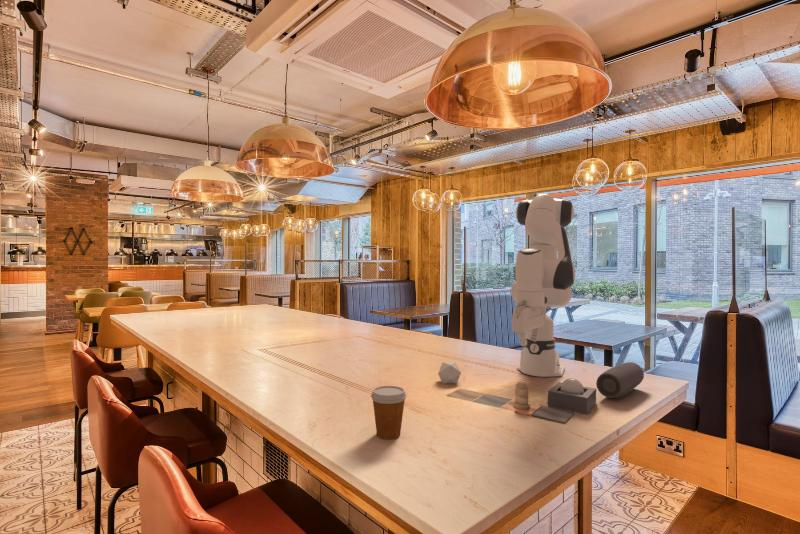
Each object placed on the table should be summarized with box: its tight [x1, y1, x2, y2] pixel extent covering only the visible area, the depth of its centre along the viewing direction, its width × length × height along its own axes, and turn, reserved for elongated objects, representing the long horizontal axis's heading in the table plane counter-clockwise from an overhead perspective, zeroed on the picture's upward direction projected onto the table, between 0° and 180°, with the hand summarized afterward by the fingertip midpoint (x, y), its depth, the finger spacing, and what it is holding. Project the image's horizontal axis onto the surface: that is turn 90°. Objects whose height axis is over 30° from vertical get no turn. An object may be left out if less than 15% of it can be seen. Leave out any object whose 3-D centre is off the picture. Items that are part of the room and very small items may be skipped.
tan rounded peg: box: [513, 380, 531, 409], centre depth 140 cm, size 5×5×8 cm
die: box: [437, 361, 462, 384], centre depth 166 cm, size 8×9×10 cm
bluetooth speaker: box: [596, 361, 645, 399], centre depth 155 cm, size 23×9×10 cm, turn 135°
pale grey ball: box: [560, 377, 584, 395], centre depth 143 cm, size 7×7×7 cm
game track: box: [445, 388, 575, 425], centre depth 142 cm, size 10×40×1 cm, turn 54°
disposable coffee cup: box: [370, 385, 407, 440], centre depth 118 cm, size 10×10×12 cm
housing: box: [547, 382, 597, 415], centre depth 143 cm, size 12×12×5 cm
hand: (529, 343), depth 140 cm, fingers open, 8 cm apart
